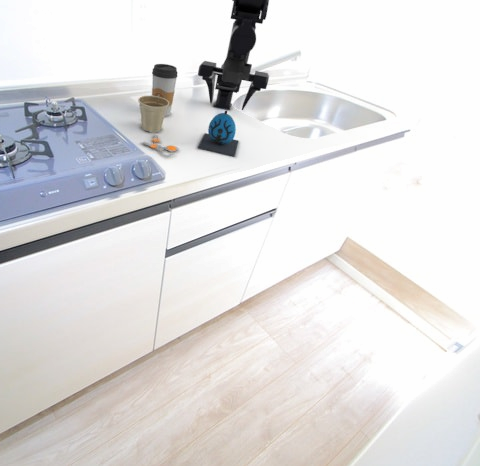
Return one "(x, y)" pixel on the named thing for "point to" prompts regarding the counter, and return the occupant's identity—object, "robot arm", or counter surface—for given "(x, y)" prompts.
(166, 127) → the counter surface
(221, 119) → the ornament
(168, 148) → the key chain
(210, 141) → the mat
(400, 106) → the counter surface
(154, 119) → the flower pot
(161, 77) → the coffee cup
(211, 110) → the counter surface
